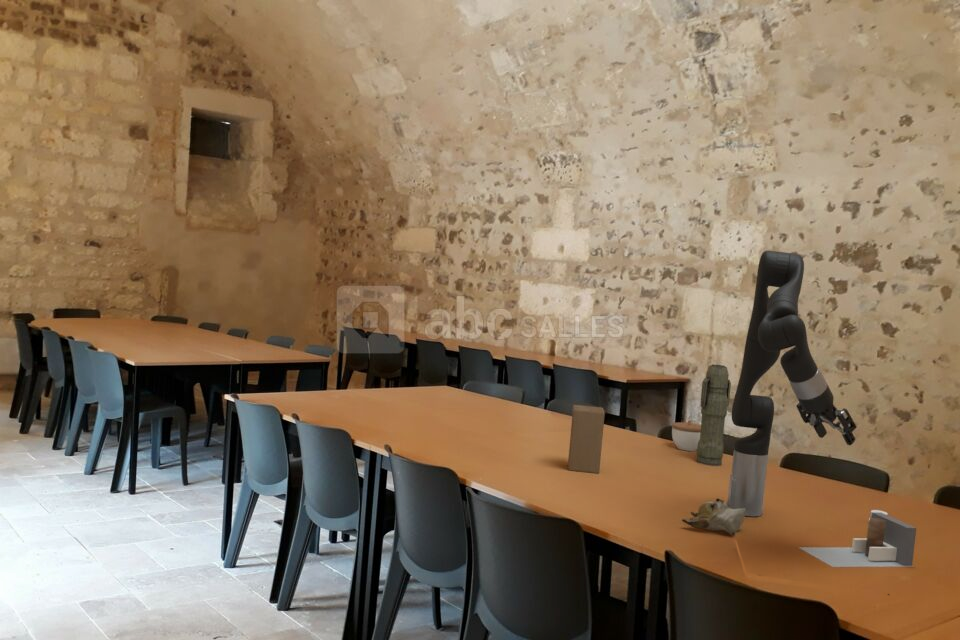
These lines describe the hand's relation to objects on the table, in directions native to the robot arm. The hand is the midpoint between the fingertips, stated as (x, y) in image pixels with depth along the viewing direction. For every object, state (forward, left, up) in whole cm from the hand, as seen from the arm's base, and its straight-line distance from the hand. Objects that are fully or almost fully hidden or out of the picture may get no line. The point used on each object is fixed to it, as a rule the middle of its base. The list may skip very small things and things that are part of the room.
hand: (837, 439), depth 204 cm
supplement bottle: (+15, +14, -28) cm, 35 cm away
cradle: (+10, -2, -27) cm, 29 cm away
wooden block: (-64, +58, -28) cm, 91 cm away
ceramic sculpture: (-26, +7, -28) cm, 39 cm away
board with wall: (+6, -4, -28) cm, 29 cm away
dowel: (+10, -2, -27) cm, 29 cm away
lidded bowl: (-29, +113, -28) cm, 120 cm away
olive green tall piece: (-22, +92, -28) cm, 99 cm away
